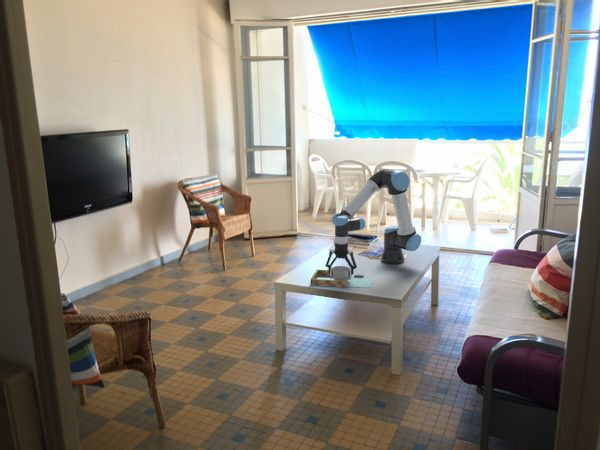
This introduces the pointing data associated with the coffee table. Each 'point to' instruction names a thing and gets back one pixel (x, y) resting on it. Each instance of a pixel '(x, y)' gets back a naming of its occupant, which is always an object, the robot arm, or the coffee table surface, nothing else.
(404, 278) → the coffee table surface
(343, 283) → the cubby
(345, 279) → the teacup
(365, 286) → the mat
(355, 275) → the disc
